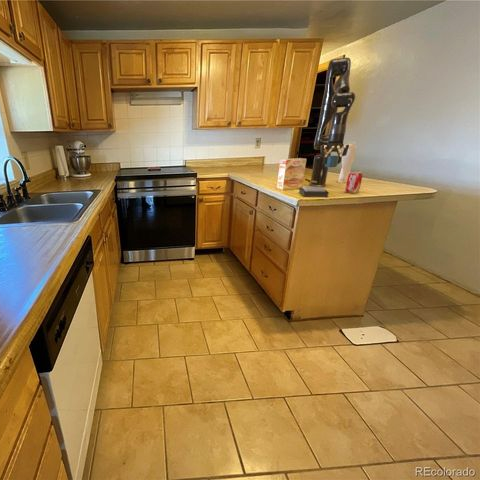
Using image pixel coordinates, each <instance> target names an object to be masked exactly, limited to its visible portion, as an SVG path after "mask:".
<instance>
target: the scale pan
mask: <svg viewBox="0 0 480 480" xmlns="http://www.w3.org/2000/svg"><path fill="white" fill-rule="evenodd" d="M302 188H303V189H304V190H305V191H325V190H327V189H326V188H325V187H323V186H311V185H307V186H306V185H305V186H304V185H302Z"/></svg>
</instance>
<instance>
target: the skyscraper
mask: <svg viewBox="0 0 480 480" xmlns="http://www.w3.org/2000/svg"><path fill="white" fill-rule="evenodd" d="M354 144H355V145H354ZM344 145H349V148H348V151H347V154H346V156H343V157H342V159H341V169H340V172H339V175H338V180H337V183H340V184H341V183H342V184H346V183H347V179H348V175H349V174H350V172H352V171H351V169H352V165H353V163H354V162H353V161H354V160H355V157H356V153H357V146H358V145H357V143H356V142H355V141H348V142H347V143H346V144H344Z"/></svg>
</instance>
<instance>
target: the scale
mask: <svg viewBox="0 0 480 480" xmlns="http://www.w3.org/2000/svg"><path fill="white" fill-rule="evenodd" d="M299 193H300V194H301V196H303V198H328V195H329V194H330V193H329V191H328V190H327V189H326V190H325V191H305V190H304V189H303V187H302V188H300V189H299Z"/></svg>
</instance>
